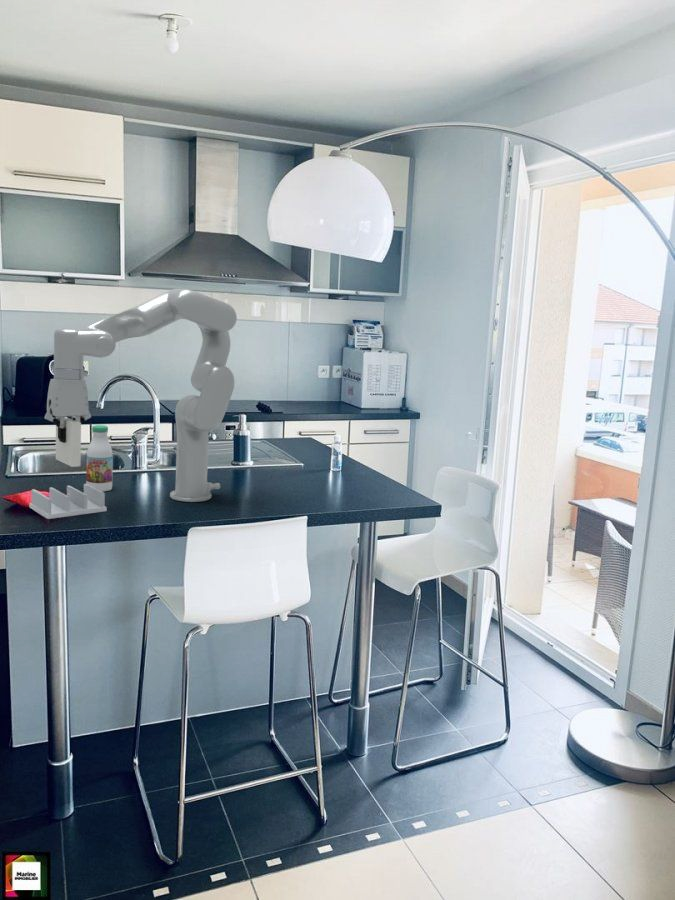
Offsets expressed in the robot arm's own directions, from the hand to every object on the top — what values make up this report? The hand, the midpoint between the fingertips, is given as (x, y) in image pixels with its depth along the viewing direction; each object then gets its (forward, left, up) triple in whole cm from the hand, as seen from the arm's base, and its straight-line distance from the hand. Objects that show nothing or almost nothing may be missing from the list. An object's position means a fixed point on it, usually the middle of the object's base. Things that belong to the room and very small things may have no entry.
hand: (68, 441), depth 205 cm
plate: (0, 0, -6) cm, 6 cm away
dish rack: (0, 0, -19) cm, 19 cm away
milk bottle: (-17, -17, -20) cm, 31 cm away
